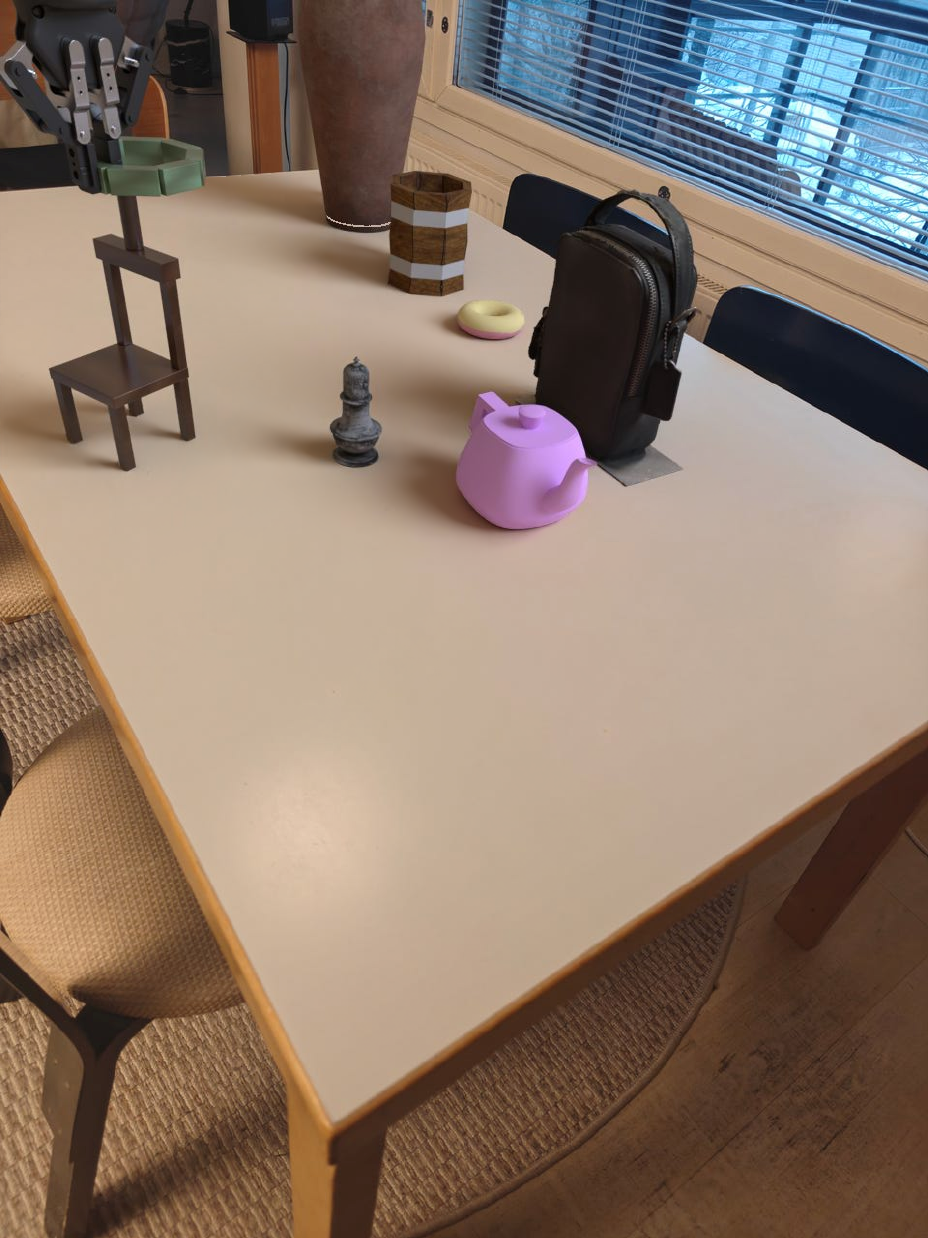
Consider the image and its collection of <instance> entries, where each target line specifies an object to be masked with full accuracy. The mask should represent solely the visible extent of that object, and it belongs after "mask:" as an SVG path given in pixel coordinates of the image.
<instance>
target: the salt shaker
mask: <svg viewBox="0 0 928 1238" xmlns="http://www.w3.org/2000/svg"><path fill="white" fill-rule="evenodd" d="M352 361H353V362H351V363H348V364H347V365H345V367H344V368H343V370H342V384H343V385H342V391H341V392H339V393H340V394H339V399H340V400H341V401H342V413H341V416H338V417H336V418H334V419H333V420H332V422H331V423H330V424H329V431H330V433H331V434H332V438H333V440H334V442H335V444H336V446H337V447H335V448H334V449H333V451H332V458H333V460H334V461H335V462H337V464H339V465H341V466H345V467H348V468H365V467H369V466H372V465H374V464H375V463H376V462H377V461H378V460H379V455H380V454H379V452H378V450H377V449H376V448H375V446H376V444H377V443H378V441H379V439H380V435H381V434H382V432H383V427H382V424H381V423H380V422H379V421H378V420H376V419H375V418H373V417H371V414H370V413H371V412H370V403H371V402H372V400H373V394H372V393H371V392H370V370H369V368H368V367H367V366H366V365H364V363H361V362H360V361H361V359H359V357H358V355H356V356H355V357H354V358H353V359H352Z"/></svg>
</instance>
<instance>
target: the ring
mask: <svg viewBox="0 0 928 1238" xmlns="http://www.w3.org/2000/svg"><path fill="white" fill-rule="evenodd" d="M89 142H90V141H89ZM90 143H91V142H90ZM119 144H120V150H121V157H122V163H123V165H112V164H109V163H106V162H103V161H100V160H97V163H98V172H99V178H100V183H101V189H102V190H101V193H100V194H103V195H111V196H112V197H113V196H116V197H117V196H136V197H152V198H153V197H156V198H157V197H158V198H159V197H162V196H165V197H170V196H174V195H178V194H181V193H185V192H190V191H194V190H197V189H201V188H203V187H205V186H206V176H207V170H206V163H205V162H206V161H205V152H204V151H205V150H204V149H203V148H201V147H200V146H197V145H193V144H189V143H187V142H184V141H183V142H182V141H179V140H176V139H172V138H167V139H166V137H153V136H152V137H151V136H149V137H148V136H128V135H127V136H125V135H123V136H122V135H120V137H119ZM72 183H74V181H73V180H72ZM75 185H76V186H78V185H77V184H75Z"/></svg>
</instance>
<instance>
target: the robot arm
mask: <svg viewBox="0 0 928 1238" xmlns="http://www.w3.org/2000/svg"><path fill="white" fill-rule="evenodd" d="M119 2H120V0H12V4H13V5H14V6H13V7H14V8H15V13H16V15H15V17H16V18H15V24H14V37H15V40H16V41H15V42H14V43H13V45H12V46H11V47H10V48H9V49H8V50H7V51H6V52H5V54H4V55H3V56H2V55H0V82H1V84H2V85H3V86H4V88H5V89H6V90H7V91H8V93H9V94H10V95H11V97H12V98H13V99H14V101H15V102H16V103H17V105H18V106H19V107H20V109H21V110H22V111H23V112H24V115H26V116H27V117H28V119H29V120H30V121H31V123H32V124H33V126H34V127H35V128H36V129H37V131H39V132H40V133H43V134H48V135H51V136H54V137H56V138H58V139H61V141H63V143H64V148H65V154H66V158H67V163H68V168H69V172H70V178H71V179H72V182H73V181H74V182H73V183H74V185H76V184H77V185H76V186H77V187H78V188H79V190H80V191H82V192H84V193H87V194H90V195H98V194H102V193H101V190H102V189H101V183H100V178H99V172H98V163H97V160H100V161H103V162H106V163H109V164H112V165H123V163H122V157H121V150H120V144H119V138H120V136H122V131H124V130H125V129H127V128H128V127H133V128H134V127H135V126H137V124H138V121H139V117H140V114H141V110H142V106H143V103H144V99H145V95H146V92H147V88H148V84H149V81H150V78H151V73H152V70H153V66H154V63H155V52H154V50H153V49H152V48H150V47H147V46H144V45H140V44H138V43H136V42H134V40H132V39H131V38H129V37H128V36H127V35H126V31H125V27H124V25H123V23H122V21H121V19H120V17H119V15H118V12H117V5H118V4H119ZM34 67H35V68H36V69H37V70H38V72H39V73H40V74H41V75H42V76H43V81H44V85H45V86H44V87H45V92H46V93H45V92H44V90H43V88H42V87H41V86H40V84H39V83H38V81H37V80H38V78H39V75H38V72H36V69H35V68H34ZM91 132H93V134H91ZM89 141H90V142H91V143H90V142H89Z"/></svg>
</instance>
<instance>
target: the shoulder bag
mask: <svg viewBox="0 0 928 1238" xmlns="http://www.w3.org/2000/svg"><path fill="white" fill-rule="evenodd" d="M629 199H634V200H637V201H641V202H643V203H645V204H646V205H648V207H649V208H650V209H651V210H653V211H654V212H655V213H656V215H657V216H658V218H659V219H660V221H661V222H662V223H663V225H664V227H665V230H666V232H667V236H668V239H669V245H670V248H671V249H669V248H667V247H665V246H663V245H661V244H659V243H658V242H656V241H654V240H652V239H650V238H648V237H646V236H644V235H642V234H640V233H639V232H637V231H635V230H632V228H631V229H630V228H629V227H626V226H625V225H622V224H617V223H605V220H606V219H607V218H608V216H609V215H610V214H611V212H612V211H613V210H614V209H615V208H617V207H618V206H619V205H620V204H622V203H623V202H625V201H627V200H629ZM669 199H670V198H667V197H661V196H659V195H656V194H653V193H647V192H640V191H639V190H638V189H636V188H633V189H632V190H628V189H627V190H626V189H620V190H618V191H617V192H616V194H614V195H611V196H608V197H606V198H604V199H602V200H601V201H600V202H598V203H596V204H595V205H594V206H593V208H592V209H591V210H590V212H589V214H588V216H587V217H586V218H585V221H584V223H583V226H582V227H581V228H579V229H577V230H576V231H573V232H569V231H565V232H564V233H562V234H561V235H560V236H559V238H558V240H557V244H556V250H555V263H554V264H555V265H554V269H553V281H552V286H551V290H550V295H549V300H548V305H545V306H544V307H543V309H542V311H541V315H542V316H541V317H540V319H539V320H538V322H537V324H536V325H535V326H533V332H532V335H531V338H530V342H529V345H528V349H527V355H528V358H529V359H530V360H531V361H534V366H533V368H534V369H533V372H532V375H533V376H534V377H535V378H537V382H536V386H535V392H534V394H532V395H527V396H524V397H519V398H516V399H514V401H516V402H517V403H519V405H541V406H545V407H548V408H550V409H552V410H554V411H555V412H557V413H559V414H560V415H561V416H563V417H564V418H565V419H567V420H568V421H569V422H570V423H571V424H572V425H573V426H574V427H575V428H576V429H577V431H578V433H579V436H580V438H581V441H582V445H583V448H584V452H585V456H586V457H588V458H589V459H591V460H593V461H595V462H596V463H597V465H598V466H600V467H601V468H603V469H604V470H605V471H606V472H608V474H610V475H612V477H614V478H616V479H617V480H618V481H619V482H620V483H622V484H624V485H625V486H627V487H629V486H632V485H633V486H634V485H635V484H638V483H642V482H645V481H649V480H651V479H655V478H659V477H662V476H666V475H668V474H671V473H675V472H678V471H681V470H684V468H683V467H682V466H680V465H679V464H678V463H677V462H675V461H674V460H672V459H671V458H669V457H668V456H667V455H665V454H664V453H662V452H661V451H660V450H658V449H657V448H655V446H653V445H651V444H652V443H653V442H655V440H656V438H657V435H658V432H659V427H660V424H661V422H662V421H663V422H669V421H670V420H671V419H672V417H673V415H674V410H675V405H676V401H677V396H678V391H679V387H680V384H681V383H680V382H681V380H682V379H681V378H682V375H683V372H682V369H680V368H678V367H677V363H678V360H679V357H680V352H681V347H682V343H683V339H684V337H685V332H686V331H687V329H688V325H689V324H690V323H691V321H692V320H693V319H694V318H695V317H696V315H697V314H696V313H697V312H698V309H697V306H692V305H693V303H694V299H695V295H696V291H697V290H696V289H697V287H698V281H699V280H698V279H699V275H698V270H697V266H696V265H695V262H694V261H695V260H694V258H695V256H694V255H695V250H694V243H693V237H692V234H691V231H690V228H689V226H688V223H687V221H686V219H685V218H684V217H683V215H682V213H681V212H680V211H679V209H677V207H676V206H675V205H674V204H673V203H672V202H671V201H670V200H669Z"/></svg>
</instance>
